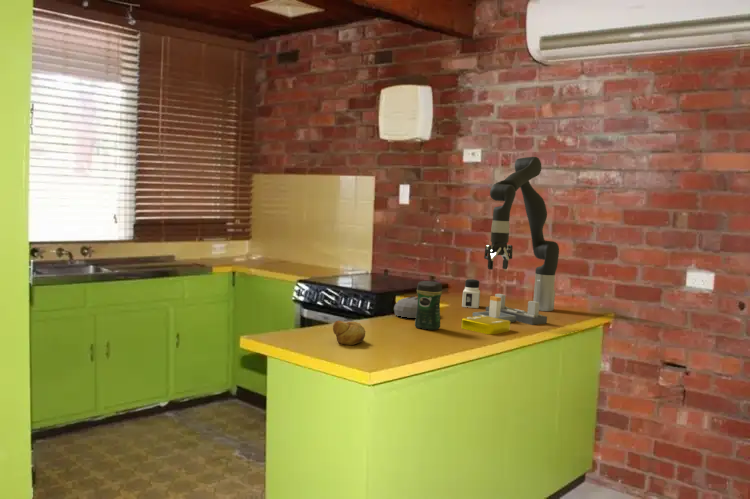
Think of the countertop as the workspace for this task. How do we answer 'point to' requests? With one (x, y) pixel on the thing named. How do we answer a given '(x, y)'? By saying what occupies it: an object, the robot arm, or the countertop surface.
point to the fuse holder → (523, 316)
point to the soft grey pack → (406, 307)
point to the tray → (502, 316)
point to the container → (471, 294)
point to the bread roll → (349, 332)
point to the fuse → (533, 308)
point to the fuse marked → (495, 306)
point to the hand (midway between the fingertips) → (497, 269)
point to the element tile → (485, 324)
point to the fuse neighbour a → (501, 300)
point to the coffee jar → (428, 305)
